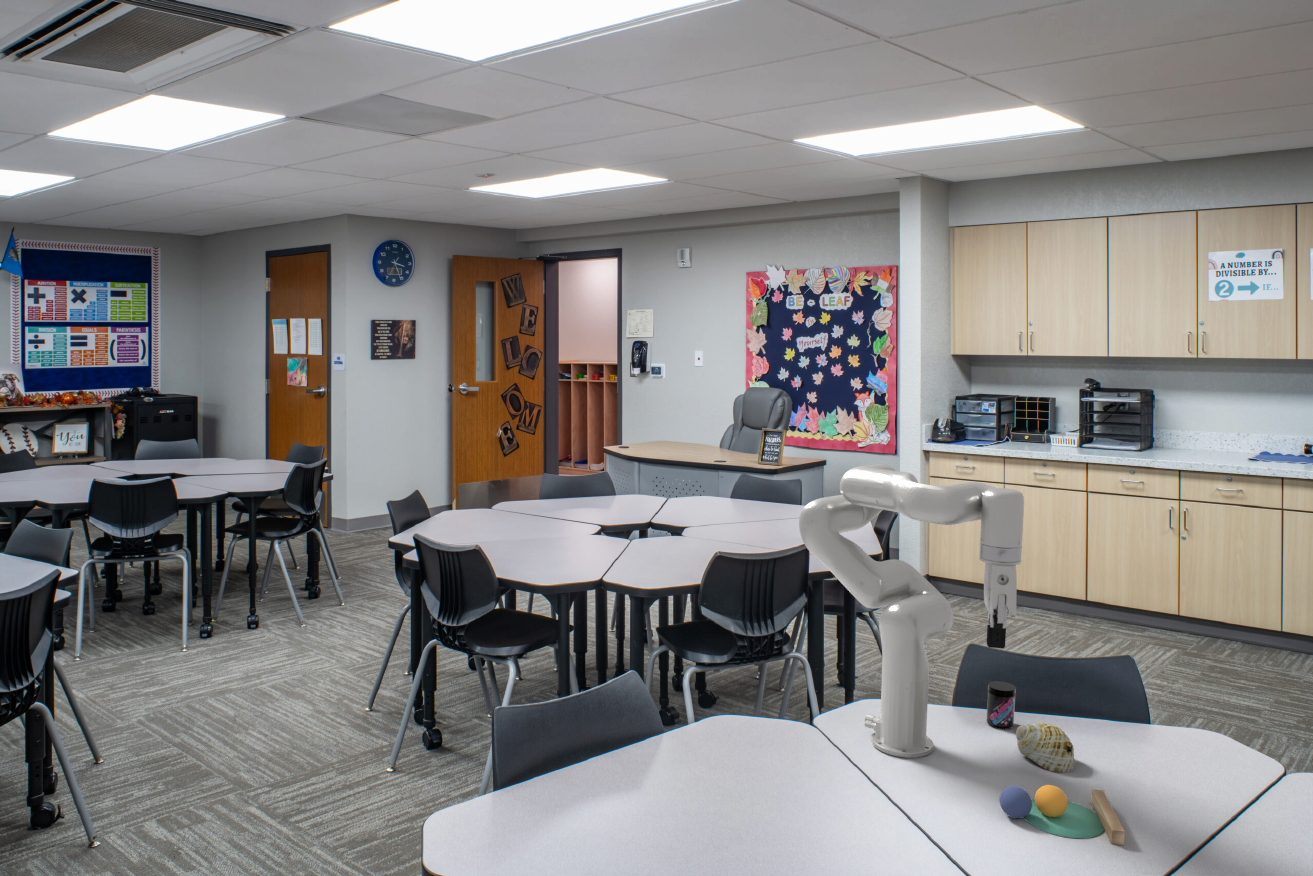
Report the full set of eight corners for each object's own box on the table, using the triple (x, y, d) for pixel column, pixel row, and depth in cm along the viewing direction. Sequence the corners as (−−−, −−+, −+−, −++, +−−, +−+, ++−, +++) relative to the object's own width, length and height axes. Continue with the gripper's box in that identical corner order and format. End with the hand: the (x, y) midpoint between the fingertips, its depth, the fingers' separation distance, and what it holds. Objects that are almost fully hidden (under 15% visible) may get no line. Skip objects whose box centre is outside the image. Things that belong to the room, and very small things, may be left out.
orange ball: (1079, 803, 170) (1062, 826, 171) (1058, 782, 175) (1041, 805, 176) (1060, 796, 168) (1043, 820, 169) (1039, 775, 172) (1022, 799, 173)
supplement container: (982, 725, 212) (984, 686, 211) (990, 717, 216) (992, 679, 215) (1009, 732, 208) (1011, 693, 207) (1017, 724, 213) (1019, 685, 212)
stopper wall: (1111, 844, 163) (1112, 830, 162) (1090, 802, 177) (1091, 789, 177) (1123, 845, 162) (1124, 831, 162) (1102, 803, 177) (1103, 790, 176)
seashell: (1086, 771, 188) (1064, 725, 188) (1038, 789, 190) (1016, 744, 190) (1071, 745, 199) (1050, 702, 198) (1025, 763, 201) (1004, 720, 200)
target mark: (1027, 833, 166) (1027, 832, 166) (1015, 795, 179) (1015, 794, 179) (1113, 843, 163) (1113, 841, 163) (1094, 803, 176) (1094, 802, 176)
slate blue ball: (1010, 828, 171) (990, 804, 171) (1016, 808, 175) (996, 785, 175) (1035, 820, 167) (1014, 795, 168) (1041, 799, 171) (1020, 775, 172)
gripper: (1027, 563, 172) (1022, 661, 174) (1015, 546, 187) (1010, 636, 189) (984, 561, 174) (979, 657, 176) (975, 543, 188) (970, 633, 190)
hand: (995, 646), depth 182 cm, fingers closed
